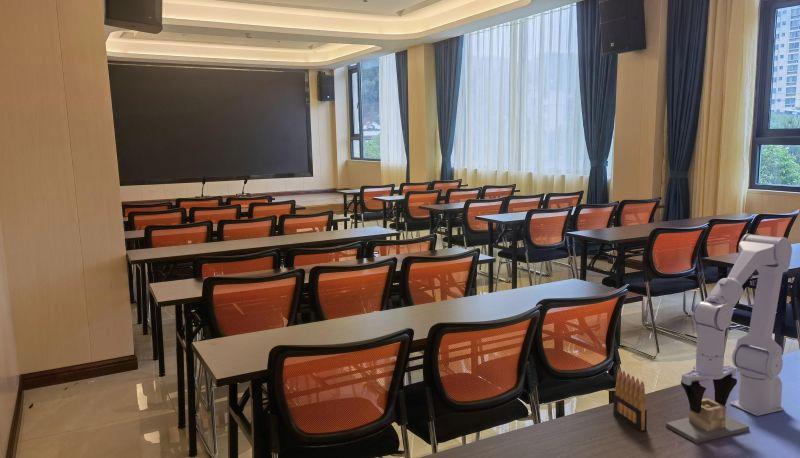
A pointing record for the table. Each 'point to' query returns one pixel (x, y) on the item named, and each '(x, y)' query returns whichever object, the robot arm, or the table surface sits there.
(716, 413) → the bead
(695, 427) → the grey peg stand
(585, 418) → the table surface
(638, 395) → the ammunition clip
